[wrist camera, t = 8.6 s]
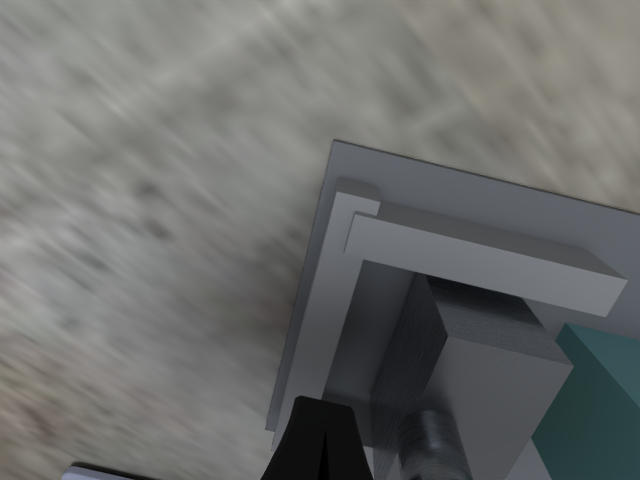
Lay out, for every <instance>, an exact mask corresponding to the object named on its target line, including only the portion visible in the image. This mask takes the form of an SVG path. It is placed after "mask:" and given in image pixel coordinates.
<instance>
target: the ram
mask: <svg viewBox="0 0 640 480" xmlns="http://www.w3.org/2000/svg"><path fill="white" fill-rule="evenodd" d="M573 367H574V365H573V364H572V363H571V361H570V360H569V359H568V357H567V356H566V355H565V353H564V352H563V351H562V349H561V348H560V347H559V346H558V344H557V343H556V342H555V340H554V339H553V338H552V336H551V335H550V334H549V333H548V331H547V330H546V329H545V327H544V326H543V325H542V323H541V322H540V321H539V320H538V318H537V317H536V316H535V314H534V313H533V312H532V310H531V309H530V308H529V306H528V305H527V304H526V303H525V301H524V300H523V299H522V297H519V296H515V295H511V294H507V293H502V292H498V291H494V290H490V289H486V288H482V287H477V286H473V285H469V284H465V283H461V282H457V281H452V280H448V279H444V278H440V277H436V276H432V275H427V274H423V273H419V272H416V274H415V277H414V280H413V282H412V285H411V288H410V290H409V293H408V296H407V299H406V301H405V304H404V307H403V310H402V312H401V315H400V318H399V320H398V323H397V326H396V329H395V331H394V334H393V337H392V340H391V342H390V345H389V348H388V350H387V353H386V356H385V359H384V361H383V364H382V367H381V370H380V372H379V375H378V378H377V380H376V383H375V386H374V389H373V391H372V394H371V397H370V414H371V432H372V449H373V467H374V480H505V479H506V477H507V476H508V474H509V472H510V471H511V469H512V467H513V466H514V464H515V462H516V461H517V459H518V458H519V456H520V454H521V453H522V451H523V449H524V448H525V446H526V444H527V443H528V441H529V439H530V438H531V436H532V435H533V433H534V431H535V430H536V428H537V426H538V425H539V423H540V421H541V420H542V418H543V417H544V415H545V413H546V412H547V410H548V408H549V407H550V405H551V403H552V402H553V400H554V399H555V397H556V395H557V394H558V392H559V390H560V389H561V387H562V385H563V384H564V382H565V380H566V379H567V377H568V376H569V374H570V372H571V371H572V369H573Z"/></svg>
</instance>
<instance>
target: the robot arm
mask: <svg viewBox="0 0 640 480" xmlns="http://www.w3.org/2000/svg"><path fill="white" fill-rule="evenodd" d="M62 480H134V479H129V478H125V477H120V476H116V475H112V474H107V473H103V472H98V471H94V470H89V469H85V468H81V467H74V466H73V467H69V468H68V469H67V470H66V471H65V472H64V474H63V475H62ZM261 480H373V477H372V474H371V471H370V468H369V465H368V461H367V458H366V455H365V452H364V448H363V445H362V441H361V438H360V434H359V430H358V426H357V422H356V418H355V414H354V411H353V409H352V408H351V407H350V406H346V405H341V404H337V403H333V402H328V401H324V400H320V399H315V398H311V397H306V396H302V395H300V396H298V397H296V398H295V400H294V404H293V407H292V411H291V415H290V419H289V422H288V424H287V427H286V429H285V431H284V434H283V436H282V438H281V441H280V443H279V445H278V447H277V449H276V451H275V453H274V455H273V457H272V459H271V461H270V463H269V465H268V467H267V469H266V471H265V472H264V474H263V476H262V478H261Z"/></svg>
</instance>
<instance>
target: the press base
mask: <svg viewBox="0 0 640 480" xmlns="http://www.w3.org/2000/svg"><path fill="white" fill-rule="evenodd" d="M416 272H419V273H423V274H427V275H432V276H436V277H440V278H444V279H448V280H452V281H457V282H461V283H465V284H469V285H473V286H477V287H482V288H486V289H490V290H494V291H498V292H502V293H507V294H511V295H515V296H519V297H522V299H523V300H524V301H525V303H526V304H527V305H528V306H529V308H530V309H531V310H532V312H533V313H534V314H535V316H536V317H537V318H538V320H539V321H540V322H541V323H542V325H543V326H544V327H545V329H546V330H547V331H548V333H549V334H550V335H551V336H552V338H553V339H554V340H556V338H557V337H558V335H559V333H560V331H561V330H562V328H563V326H564V324H565V323H570V324H574V325H578V326H582V327H586V328H591V329H595V330H599V331H603V332H607V333H611V334H616V335H620V336H624V337H628V338H632V339H636V340H640V214H636V213H632V212H628V211H624V210H620V209H616V208H612V207H608V206H604V205H600V204H596V203H592V202H588V201H584V200H579V199H575V198H571V197H567V196H563V195H559V194H555V193H551V192H547V191H543V190H539V189H535V188H531V187H526V186H522V185H518V184H514V183H510V182H506V181H502V180H498V179H494V178H490V177H486V176H482V175H478V174H473V173H469V172H465V171H461V170H457V169H453V168H449V167H445V166H441V165H437V164H433V163H429V162H425V161H420V160H416V159H412V158H408V157H404V156H400V155H396V154H392V153H388V152H384V151H380V150H376V149H372V148H367V147H363V146H359V145H355V144H351V143H347V142H343V141H339V140H335V139H334V142H333V146H332V150H331V154H330V158H329V163H328V167H327V171H326V175H325V180H324V184H323V188H322V192H321V196H320V201H319V205H318V209H317V213H316V217H315V222H314V226H313V230H312V234H311V238H310V243H309V247H308V251H307V255H306V259H305V264H304V268H303V272H302V276H301V280H300V285H299V289H298V293H297V297H296V301H295V306H294V310H293V314H292V318H291V322H290V327H289V331H288V335H287V339H286V343H285V348H284V352H283V356H282V360H281V364H280V369H279V373H278V377H277V381H276V385H275V390H274V394H273V398H272V402H271V406H270V411H269V415H268V419H267V423H266V427H265V430H269V431H273V432H275V435H274V439H273V444H272V449H271V451H273V452H275V451H276V449H277V447H278V445H279V443H280V441H281V438H282V436H283V434H284V431H285V429H286V427H287V424H288V422H289V419H290V415H291V411H292V407H293V404H294V400H295V398H296V397H298V396H300V395H302V396H306V397H311V398H315V399H320V400H324V401H328V402H333V403H337V404H341V405H346V406H350V407H351V408H352V409H353V411H354V414H355V418H356V422H357V426H358V430H359V434H360V438H361V441H362V445H363V448H364V452H365V455H366V458H367V461H368V465H369V468H370V471H371V473H372V474H374V467H373V449H372V432H371V414H370V397H371V394H372V391H373V389H374V386H375V383H376V380H377V378H378V375H379V372H380V370H381V367H382V364H383V361H384V359H385V356H386V353H387V350H388V348H389V345H390V342H391V340H392V337H393V334H394V331H395V329H396V326H397V323H398V320H399V318H400V315H401V312H402V310H403V307H404V304H405V301H406V299H407V296H408V293H409V290H410V288H411V285H412V282H413V280H414V277H415V274H416ZM505 480H552V479H551V477H550V475H549V473H548V471H547V469H546V467H545V465H544V463H543V461H542V459H541V457H540V455H539V453H538V451H537V449H536V447H535V445H534V443H533V441H532V439H531V438H530V439H529V441H528V443H527V444H526V446H525V448H524V449H523V451H522V453H521V454H520V456H519V458H518V459H517V461H516V462H515V464H514V466H513V467H512V469H511V471H510V472H509V474H508V476H507V477H506V479H505Z"/></svg>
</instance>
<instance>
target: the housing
mask: <svg viewBox="0 0 640 480" xmlns="http://www.w3.org/2000/svg"><path fill="white" fill-rule="evenodd" d="M555 342H556V343H557V344H558V346H559V347H560V348H561V349H562V351H563V352H564V353H565V355H566V356H567V357H568V359H569V360H570V361H571V363H572V364H573V365H574V367H573V369H572V371H571V372H570V374H569V376H568V377H567V379H566V380H565V382H564V384H563V385H562V387H561V389H560V390H559V392H558V394H557V395H556V397H555V399H554V400H553V402H552V403H551V405H550V407H549V408H548V410H547V412H546V413H545V415H544V417H543V418H542V420H541V421H540V423H539V425H538V426H537V428H536V430H535V431H534V433H533V435H532V436H531V439H532V441H533V443H534V445H535V447H536V449H537V451H538V453H539V455H540V457H541V459H542V461H543V463H544V465H545V467H546V469H547V471H548V473H549V475H550V477H551V479H552V480H640V340H636V339H632V338H628V337H624V336H620V335H616V334H611V333H607V332H603V331H599V330H595V329H591V328H586V327H582V326H578V325H574V324H570V323H565V324H564V326H563V328H562V330H561V331H560V333H559V335H558V337H557V338H556V340H555Z"/></svg>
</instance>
